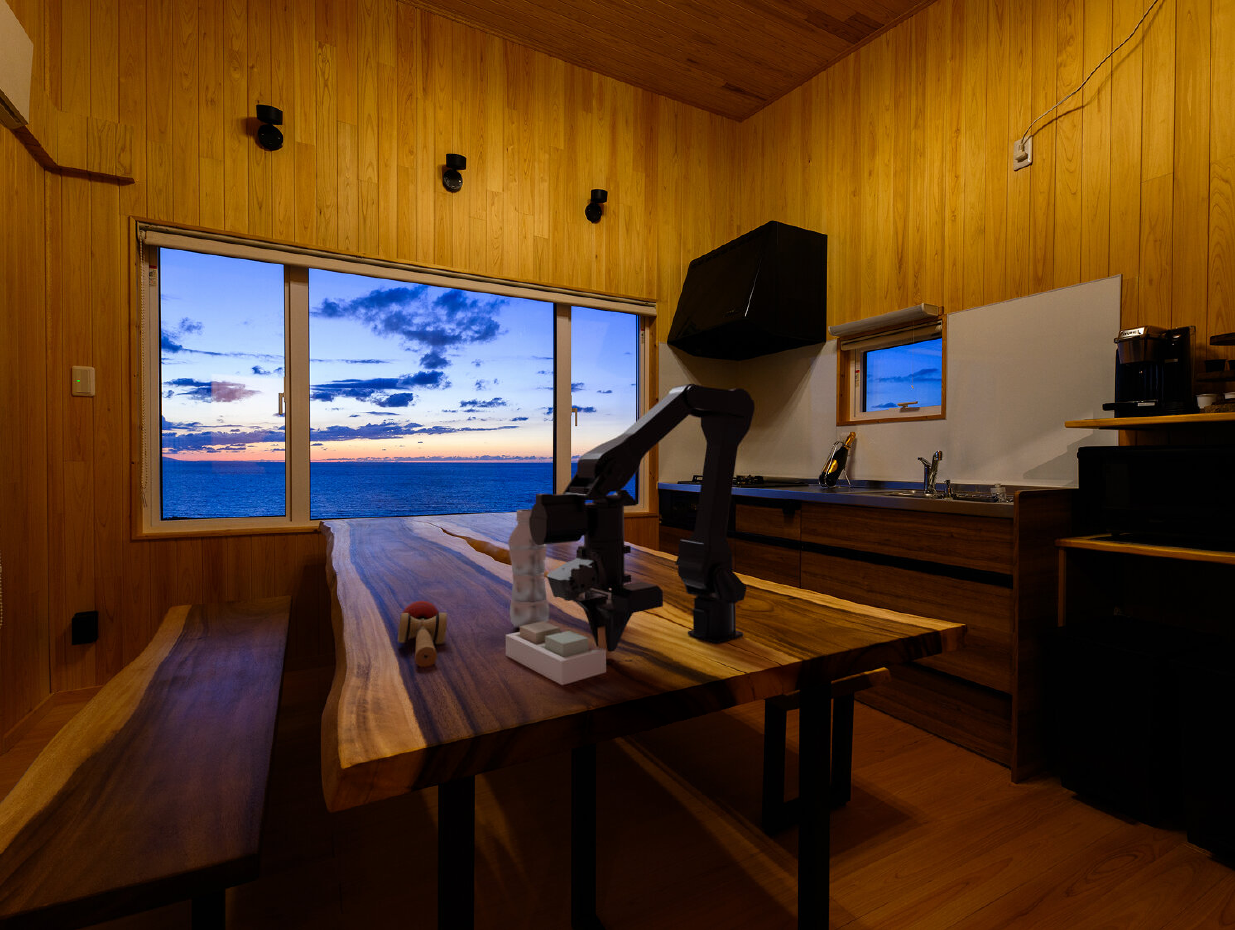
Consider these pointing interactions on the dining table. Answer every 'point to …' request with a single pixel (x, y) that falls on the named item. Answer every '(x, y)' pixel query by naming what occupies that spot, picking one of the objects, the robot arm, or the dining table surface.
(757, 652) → the dining table surface
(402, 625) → the kendama
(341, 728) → the dining table surface
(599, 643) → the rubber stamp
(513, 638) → the lane rack
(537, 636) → the ash block
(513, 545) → the plastic bottle
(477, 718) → the dining table surface
